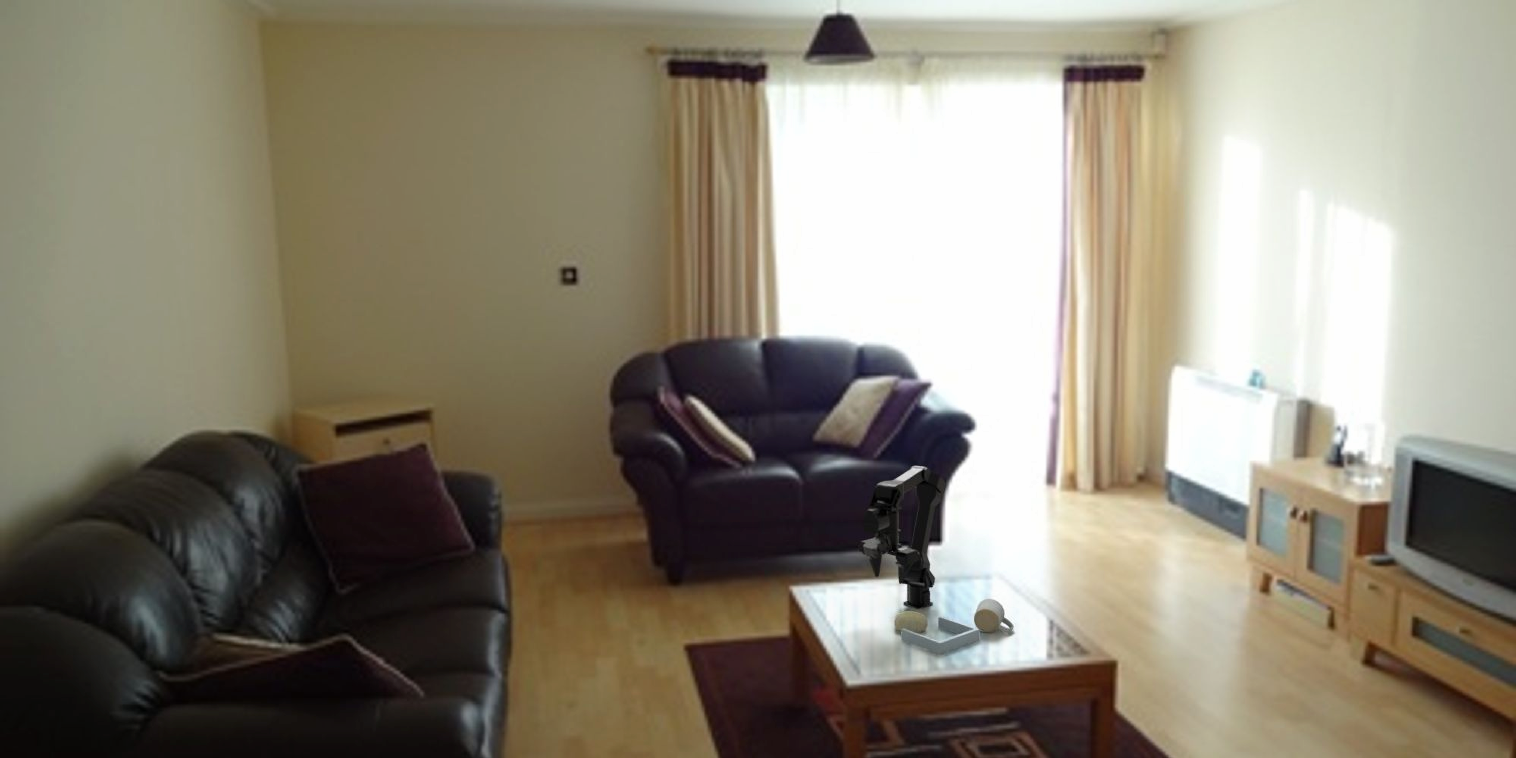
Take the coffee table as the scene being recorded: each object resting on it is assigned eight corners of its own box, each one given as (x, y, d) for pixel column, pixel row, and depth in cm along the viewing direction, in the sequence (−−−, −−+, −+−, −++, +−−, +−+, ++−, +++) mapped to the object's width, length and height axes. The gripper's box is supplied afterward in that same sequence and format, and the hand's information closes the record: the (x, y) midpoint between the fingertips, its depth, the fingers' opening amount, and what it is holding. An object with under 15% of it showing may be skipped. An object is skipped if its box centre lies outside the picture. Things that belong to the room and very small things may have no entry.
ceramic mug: (972, 632, 295) (973, 605, 294) (977, 622, 302) (977, 596, 301) (1011, 637, 291) (1012, 610, 290) (1015, 627, 299) (1015, 601, 298)
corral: (901, 639, 290) (901, 629, 290) (940, 626, 300) (940, 615, 300) (939, 654, 279) (939, 643, 279) (979, 639, 289) (979, 629, 289)
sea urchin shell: (922, 631, 291) (903, 608, 294) (904, 647, 295) (885, 624, 297) (935, 621, 299) (916, 598, 301) (917, 636, 303) (899, 614, 305)
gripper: (845, 526, 304) (845, 578, 306) (893, 538, 290) (894, 593, 292) (872, 519, 311) (872, 570, 313) (920, 531, 297) (920, 585, 299)
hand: (888, 580), depth 304 cm, fingers open, 9 cm apart
